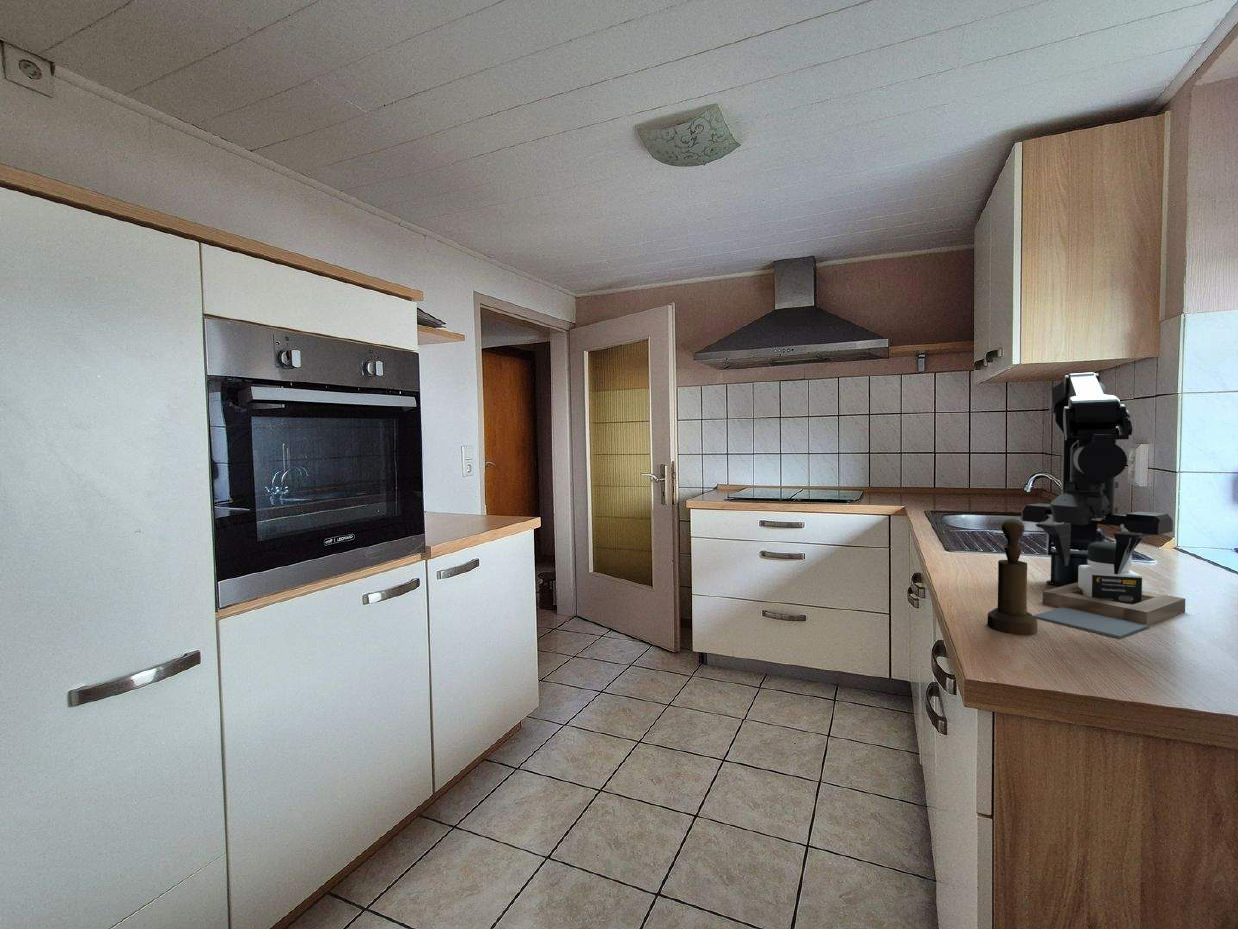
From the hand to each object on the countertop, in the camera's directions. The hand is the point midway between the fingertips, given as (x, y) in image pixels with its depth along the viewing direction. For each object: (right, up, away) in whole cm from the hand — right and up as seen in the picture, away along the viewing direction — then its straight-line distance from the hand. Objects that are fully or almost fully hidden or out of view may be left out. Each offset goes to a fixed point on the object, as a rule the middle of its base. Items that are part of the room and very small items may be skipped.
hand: (1090, 569), depth 95 cm
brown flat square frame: (+11, -9, +8) cm, 16 cm away
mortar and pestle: (-14, -10, -2) cm, 17 cm away
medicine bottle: (+11, -9, +10) cm, 17 cm away
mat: (0, -9, 0) cm, 9 cm away
